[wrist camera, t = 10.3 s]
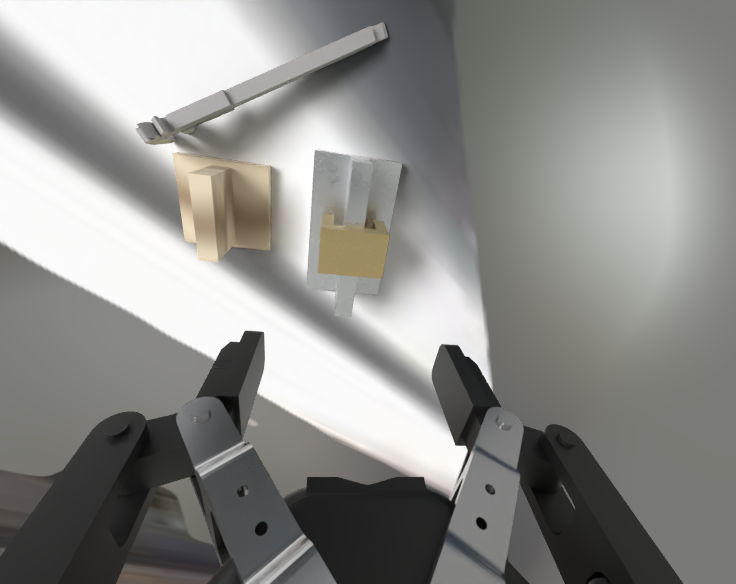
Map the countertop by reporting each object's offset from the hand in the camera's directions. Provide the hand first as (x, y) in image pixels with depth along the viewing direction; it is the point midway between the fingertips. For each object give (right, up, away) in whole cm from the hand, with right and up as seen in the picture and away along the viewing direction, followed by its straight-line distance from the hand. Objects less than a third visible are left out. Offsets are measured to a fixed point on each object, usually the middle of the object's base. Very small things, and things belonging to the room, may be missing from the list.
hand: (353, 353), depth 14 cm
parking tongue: (-13, +11, +16) cm, 23 cm away
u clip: (-1, +8, +15) cm, 17 cm away
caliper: (-7, +20, +12) cm, 25 cm away
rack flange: (-1, +9, +18) cm, 20 cm away
